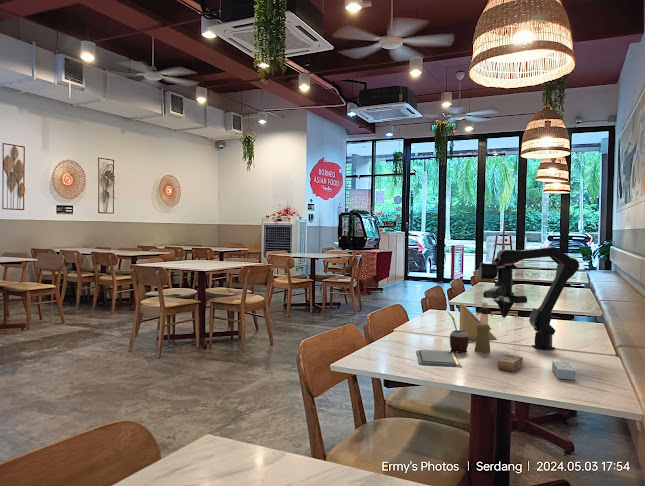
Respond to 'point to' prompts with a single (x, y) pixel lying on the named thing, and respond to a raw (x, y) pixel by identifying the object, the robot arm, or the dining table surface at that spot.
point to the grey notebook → (437, 358)
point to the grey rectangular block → (563, 370)
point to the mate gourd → (458, 340)
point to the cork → (482, 338)
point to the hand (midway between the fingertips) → (503, 317)
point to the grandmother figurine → (484, 313)
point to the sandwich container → (470, 323)
